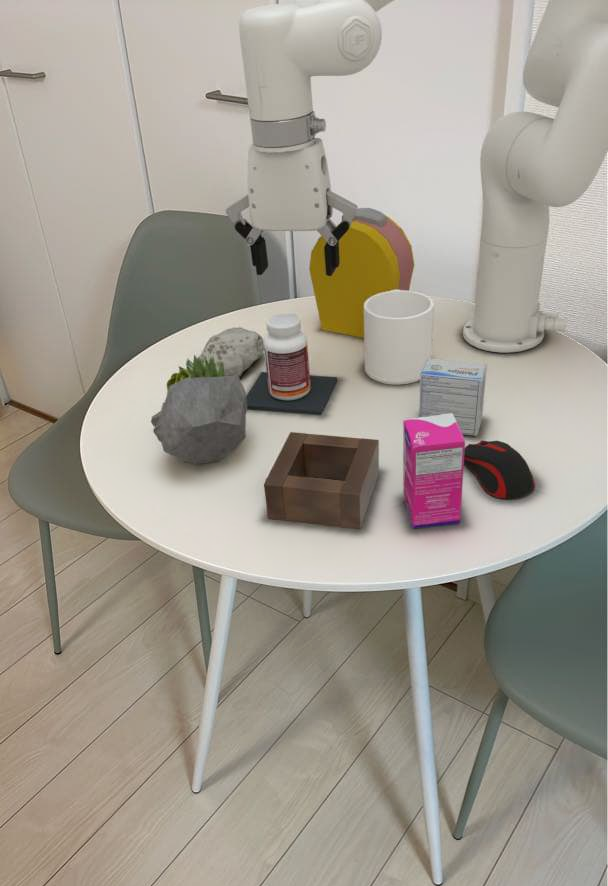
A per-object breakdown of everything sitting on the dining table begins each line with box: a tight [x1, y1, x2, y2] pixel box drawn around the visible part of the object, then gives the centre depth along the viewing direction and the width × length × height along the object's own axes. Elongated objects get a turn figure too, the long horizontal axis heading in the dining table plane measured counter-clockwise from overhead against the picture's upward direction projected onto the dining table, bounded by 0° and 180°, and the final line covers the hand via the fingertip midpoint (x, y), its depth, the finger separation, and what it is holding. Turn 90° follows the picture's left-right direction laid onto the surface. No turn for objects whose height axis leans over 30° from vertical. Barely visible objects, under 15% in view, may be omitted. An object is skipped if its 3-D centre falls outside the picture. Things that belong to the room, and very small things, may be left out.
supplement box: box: [402, 413, 466, 529], centre depth 84 cm, size 6×6×12 cm
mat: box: [246, 371, 338, 416], centre depth 111 cm, size 12×10×1 cm
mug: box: [363, 289, 435, 386], centre depth 112 cm, size 13×10×10 cm
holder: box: [263, 431, 380, 530], centre depth 90 cm, size 11×11×5 cm
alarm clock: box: [309, 207, 415, 339], centre depth 121 cm, size 15×8×18 cm, turn 59°
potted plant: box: [150, 354, 248, 466], centre depth 99 cm, size 12×13×15 cm
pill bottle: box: [263, 313, 310, 401], centre depth 107 cm, size 6×6×11 cm
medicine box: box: [418, 358, 488, 437], centre depth 99 cm, size 8×4×9 cm, turn 71°
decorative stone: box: [198, 326, 264, 379], centre depth 117 cm, size 12×11×5 cm
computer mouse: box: [464, 440, 536, 500], centre depth 91 cm, size 6×11×4 cm, turn 20°
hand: (296, 271), depth 101 cm, fingers open, 9 cm apart
